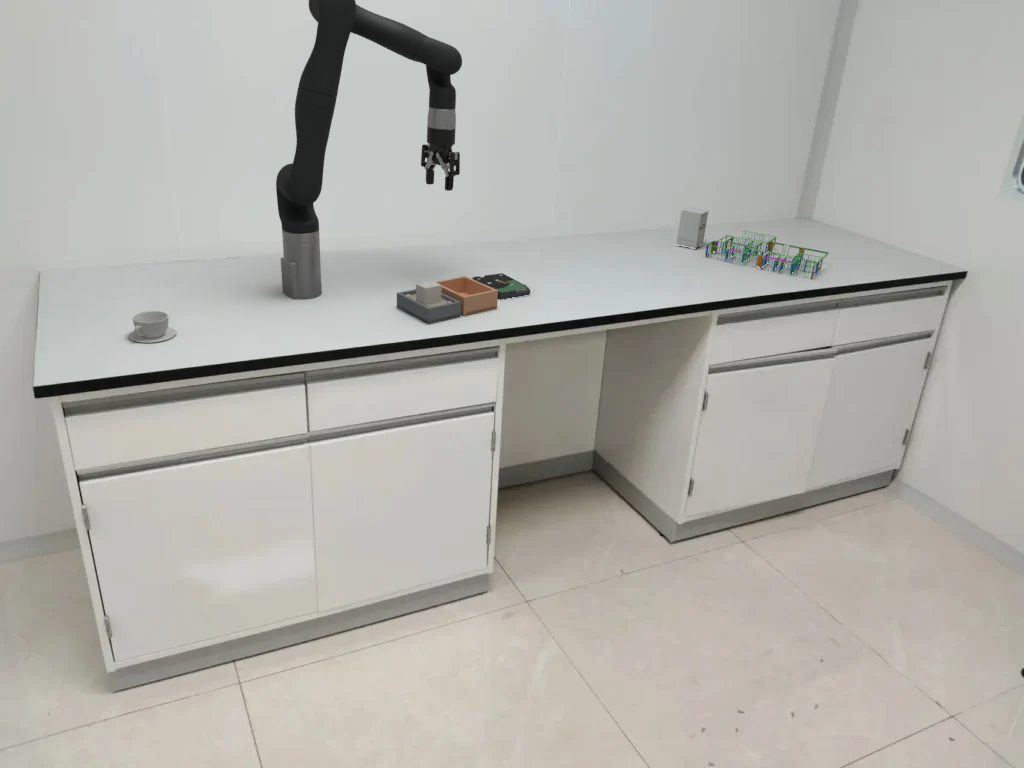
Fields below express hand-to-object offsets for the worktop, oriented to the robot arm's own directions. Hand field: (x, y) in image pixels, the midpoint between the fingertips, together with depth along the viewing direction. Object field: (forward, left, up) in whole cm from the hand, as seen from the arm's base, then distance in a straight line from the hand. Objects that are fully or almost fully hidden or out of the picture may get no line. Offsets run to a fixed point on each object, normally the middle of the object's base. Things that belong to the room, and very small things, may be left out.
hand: (439, 187), depth 223 cm
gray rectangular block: (-19, -22, -23) cm, 37 cm away
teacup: (-80, -2, -26) cm, 85 cm away
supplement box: (+97, -15, -26) cm, 102 cm away
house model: (+109, -39, -27) cm, 119 cm away
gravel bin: (-19, -22, -26) cm, 39 cm away
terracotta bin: (-7, -22, -26) cm, 35 cm away
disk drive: (+9, -18, -27) cm, 33 cm away
